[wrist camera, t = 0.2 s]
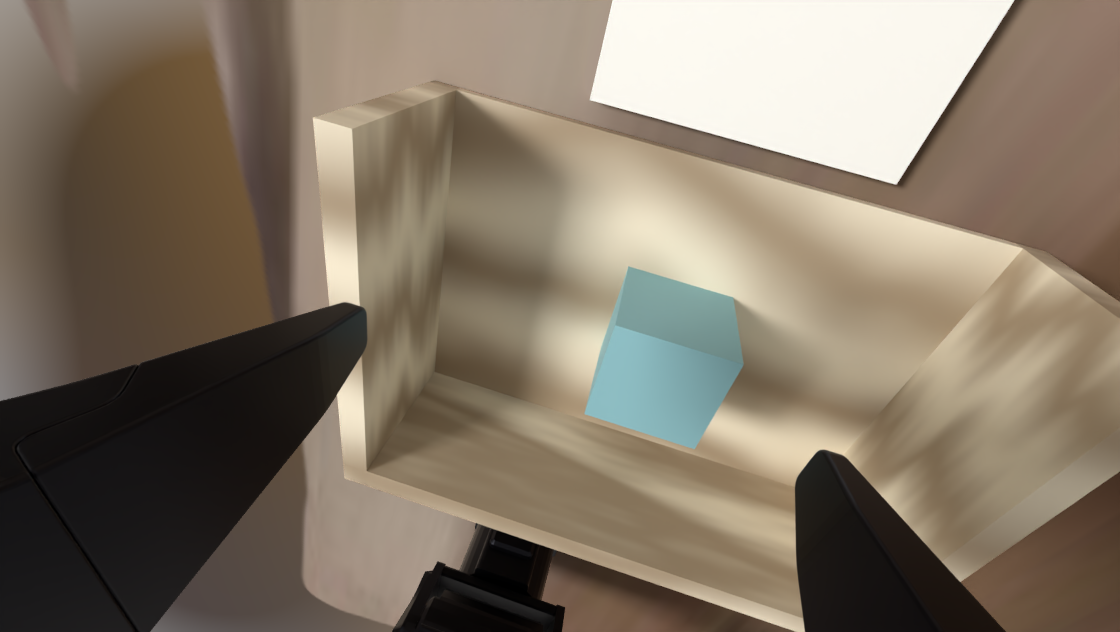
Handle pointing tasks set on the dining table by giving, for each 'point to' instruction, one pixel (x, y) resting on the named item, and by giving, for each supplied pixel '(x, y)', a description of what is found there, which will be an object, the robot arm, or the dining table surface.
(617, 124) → the dining table surface
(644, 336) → the teal block
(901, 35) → the off-white mat
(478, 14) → the dining table surface
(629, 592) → the dining table surface
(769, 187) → the birch crate
